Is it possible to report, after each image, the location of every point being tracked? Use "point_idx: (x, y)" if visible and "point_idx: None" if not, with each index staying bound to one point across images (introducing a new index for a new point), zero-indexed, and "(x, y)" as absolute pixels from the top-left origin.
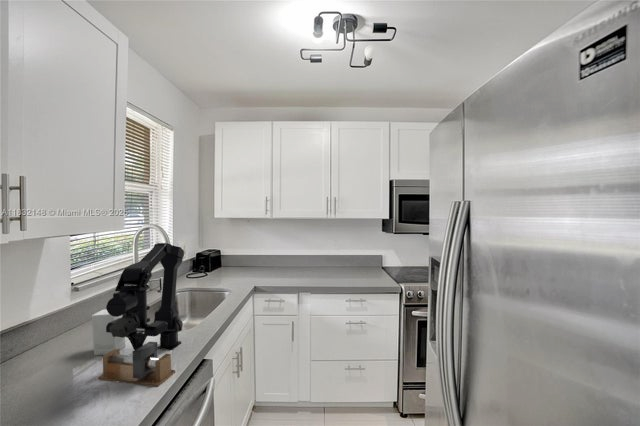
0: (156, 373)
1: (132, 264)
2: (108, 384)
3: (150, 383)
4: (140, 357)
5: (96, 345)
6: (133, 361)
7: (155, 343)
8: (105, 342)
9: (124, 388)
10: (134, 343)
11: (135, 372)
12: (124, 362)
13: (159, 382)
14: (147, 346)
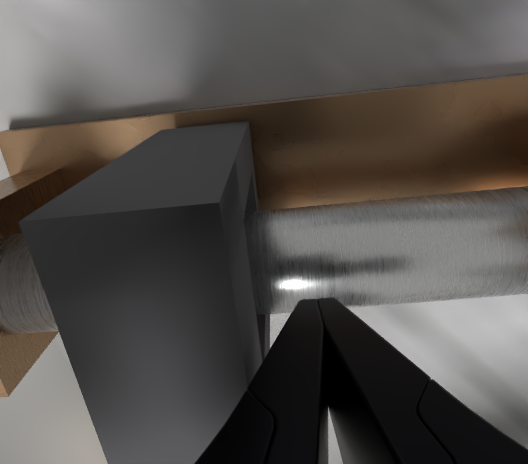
0: (17, 186)
1: None
2: (448, 31)
3: (68, 125)
4: (78, 188)
5: None
6: (223, 156)
7: None
8: None
9: (251, 24)
10: (357, 401)
11: (216, 133)
12: (436, 197)
13: (6, 154)
14: (138, 411)
